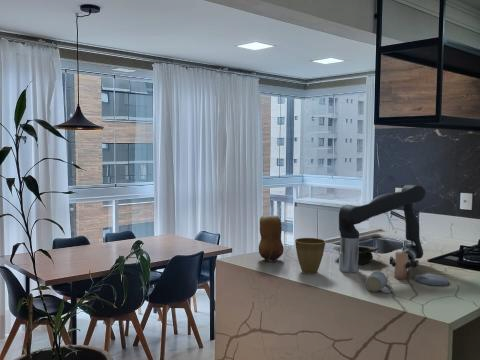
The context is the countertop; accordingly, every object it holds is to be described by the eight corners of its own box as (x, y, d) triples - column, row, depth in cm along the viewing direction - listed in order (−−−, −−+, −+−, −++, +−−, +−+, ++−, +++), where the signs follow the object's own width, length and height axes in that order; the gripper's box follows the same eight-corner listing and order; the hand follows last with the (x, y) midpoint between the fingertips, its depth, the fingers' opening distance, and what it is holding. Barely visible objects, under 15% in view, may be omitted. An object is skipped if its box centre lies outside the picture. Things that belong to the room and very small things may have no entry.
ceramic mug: (364, 290, 206) (365, 273, 205) (370, 286, 213) (371, 269, 212) (388, 296, 200) (389, 278, 199) (393, 290, 207) (394, 274, 206)
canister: (395, 279, 224) (396, 254, 223) (393, 275, 229) (394, 251, 228) (408, 279, 223) (409, 255, 222) (405, 276, 229) (406, 252, 228)
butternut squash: (266, 256, 264) (267, 212, 262) (287, 259, 257) (288, 214, 255) (253, 261, 253) (254, 215, 251) (274, 265, 246) (275, 218, 243)
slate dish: (419, 285, 215) (419, 282, 215) (411, 276, 230) (411, 273, 230) (453, 286, 213) (453, 284, 213) (442, 277, 228) (443, 274, 228)
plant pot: (330, 272, 233) (331, 241, 232) (311, 278, 224) (312, 245, 222) (307, 266, 245) (308, 236, 243) (288, 271, 235) (288, 239, 233)
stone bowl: (368, 268, 241) (368, 251, 240) (324, 264, 256) (324, 247, 255) (386, 258, 260) (385, 242, 260) (344, 255, 276) (343, 239, 275)
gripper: (392, 249, 241) (385, 255, 227) (422, 252, 234) (416, 259, 220) (391, 263, 242) (384, 271, 227) (421, 267, 235) (415, 275, 220)
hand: (400, 265), depth 224 cm, fingers closed on canister, 5 cm apart
